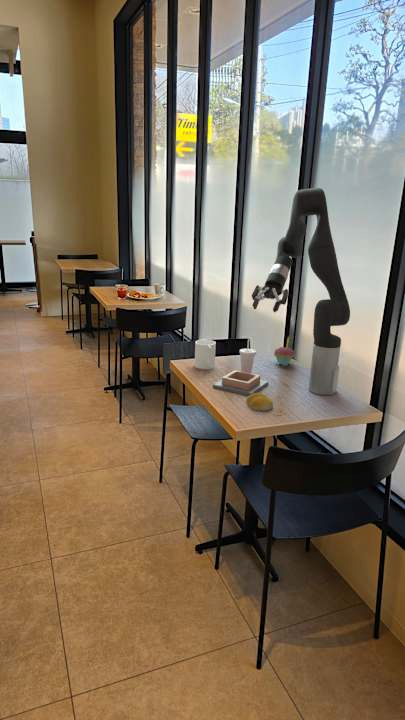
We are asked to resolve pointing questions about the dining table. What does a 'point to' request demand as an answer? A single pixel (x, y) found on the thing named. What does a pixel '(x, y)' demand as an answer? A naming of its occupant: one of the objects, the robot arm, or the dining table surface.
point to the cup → (205, 354)
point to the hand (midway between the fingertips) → (264, 309)
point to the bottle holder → (241, 383)
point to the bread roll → (259, 402)
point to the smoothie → (247, 359)
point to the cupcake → (284, 354)
